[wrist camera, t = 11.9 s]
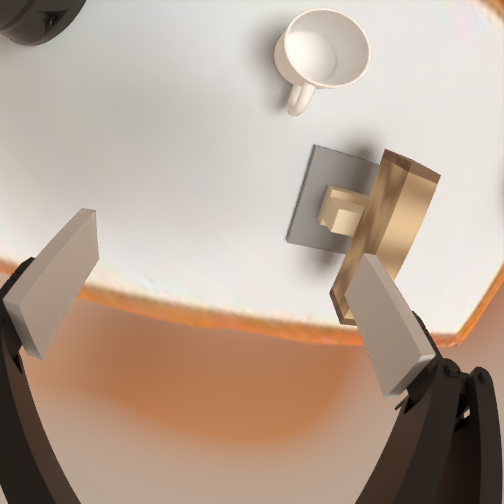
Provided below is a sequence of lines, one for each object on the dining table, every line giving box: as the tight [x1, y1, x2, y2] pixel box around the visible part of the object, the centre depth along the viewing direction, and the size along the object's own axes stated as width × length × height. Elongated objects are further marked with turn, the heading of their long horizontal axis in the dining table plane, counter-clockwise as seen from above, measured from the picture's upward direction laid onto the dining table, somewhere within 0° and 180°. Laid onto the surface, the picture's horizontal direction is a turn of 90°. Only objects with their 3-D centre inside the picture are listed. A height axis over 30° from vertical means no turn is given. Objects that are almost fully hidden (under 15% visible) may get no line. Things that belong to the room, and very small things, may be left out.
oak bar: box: [329, 149, 441, 326], centre depth 31 cm, size 20×4×6 cm, turn 168°
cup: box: [274, 8, 371, 116], centre depth 26 cm, size 8×12×10 cm
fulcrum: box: [286, 145, 380, 254], centre depth 37 cm, size 14×16×7 cm
